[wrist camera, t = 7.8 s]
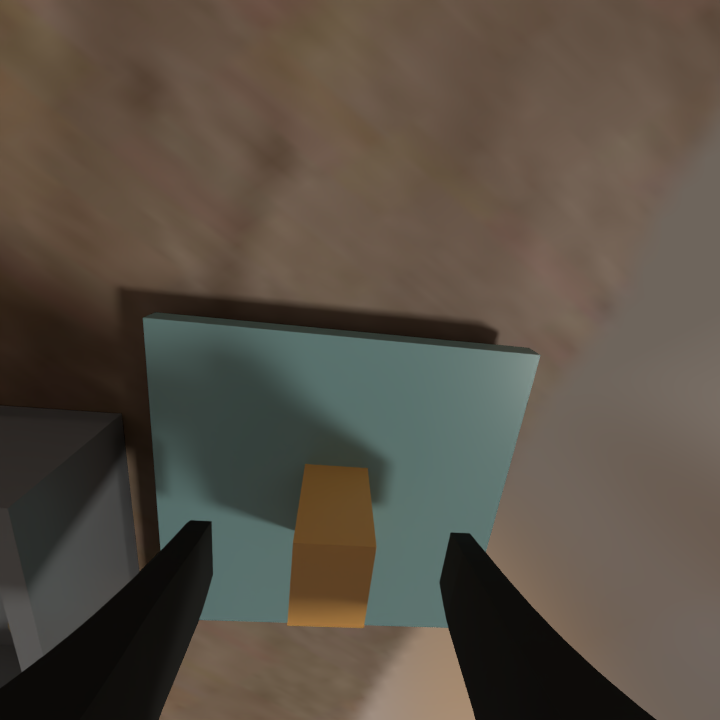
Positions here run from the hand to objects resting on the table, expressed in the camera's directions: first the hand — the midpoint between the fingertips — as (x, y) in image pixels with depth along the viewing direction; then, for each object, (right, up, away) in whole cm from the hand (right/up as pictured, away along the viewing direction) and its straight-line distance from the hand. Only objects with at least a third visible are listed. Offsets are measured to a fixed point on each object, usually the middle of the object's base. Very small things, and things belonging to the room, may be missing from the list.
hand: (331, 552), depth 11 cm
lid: (0, +1, +4) cm, 4 cm away
